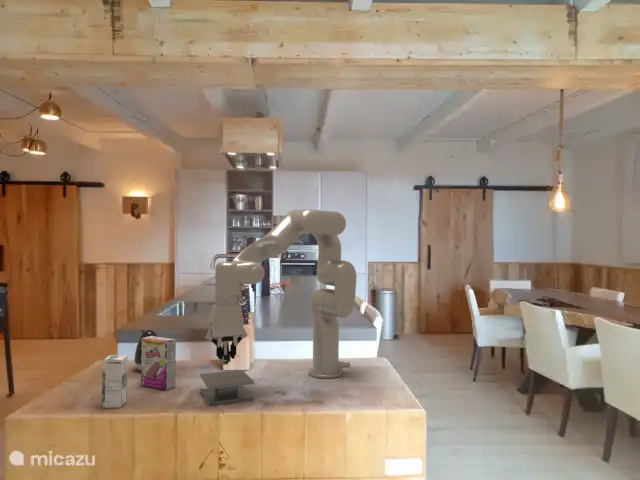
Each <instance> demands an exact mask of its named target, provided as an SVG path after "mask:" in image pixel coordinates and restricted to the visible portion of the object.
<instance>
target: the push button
mask: <svg viewBox="0 0 640 480" xmlns="http://www.w3.org/2000/svg"><path fill="white" fill-rule="evenodd" d="M232 340H233V337H232V336H228V337H222V341H221V343H223V344H222V360H221V363H222V364H221V365H224V366H225V365H226V366H228V365H229V363H231V361H232V360H231V359H232V358H231V357H230V355H231V351H230V344H229V343H230V342H231V343H232Z"/></svg>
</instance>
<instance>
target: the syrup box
mask: <svg viewBox="0 0 640 480" xmlns="http://www.w3.org/2000/svg"><path fill="white" fill-rule="evenodd" d="M101 379H102V385H101V408H102V409H111V408H112V409H113V408H114V409H116V408H122V407H123V406H124V405H125V404H126V403H127V399H128V392H127V391H128V355H125V354H111V355H108V356H106V357H105V358H103V360H102V377H101Z"/></svg>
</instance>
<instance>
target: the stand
mask: <svg viewBox="0 0 640 480" xmlns="http://www.w3.org/2000/svg"><path fill="white" fill-rule="evenodd" d="M199 377H200V379H201V380H202V382H203V383H204V385H205V386H206V388H200V389H199V393H200V395H201V397H202V398H203V399H204V401H205V402H206V404H207V406H209V407H210V406H219V405H225V404H232V403H233V404H234V403H240V402H241V403H242V402H249V401H254V398H255V397H254V395H252V394H251V392H250V391H248V389H247V388H246V387H245V386H250V385H251V386H253V385H254V380H253V379H252V378H251V376H249V375H248V374H247V373H246V372H245V371H244V370H243V369H237V370H229V371H228V370H227V371H226V370H225V371H218V372H207V373H200V375H199Z"/></svg>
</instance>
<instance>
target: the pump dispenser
mask: <svg viewBox="0 0 640 480" xmlns="http://www.w3.org/2000/svg"><path fill="white" fill-rule="evenodd" d="M140 332H141V334H140V336H139V338H138V341H137V344H136V347H135V354H134V360H133V361H134V362H133V363H135V366H136V368H137V370H139V371H140V372H141V338H144V337H148V336H155V337H159V336H158V334H157V332H155V331H154V330H152V329H146V330H143V329H141V331H140Z"/></svg>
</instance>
